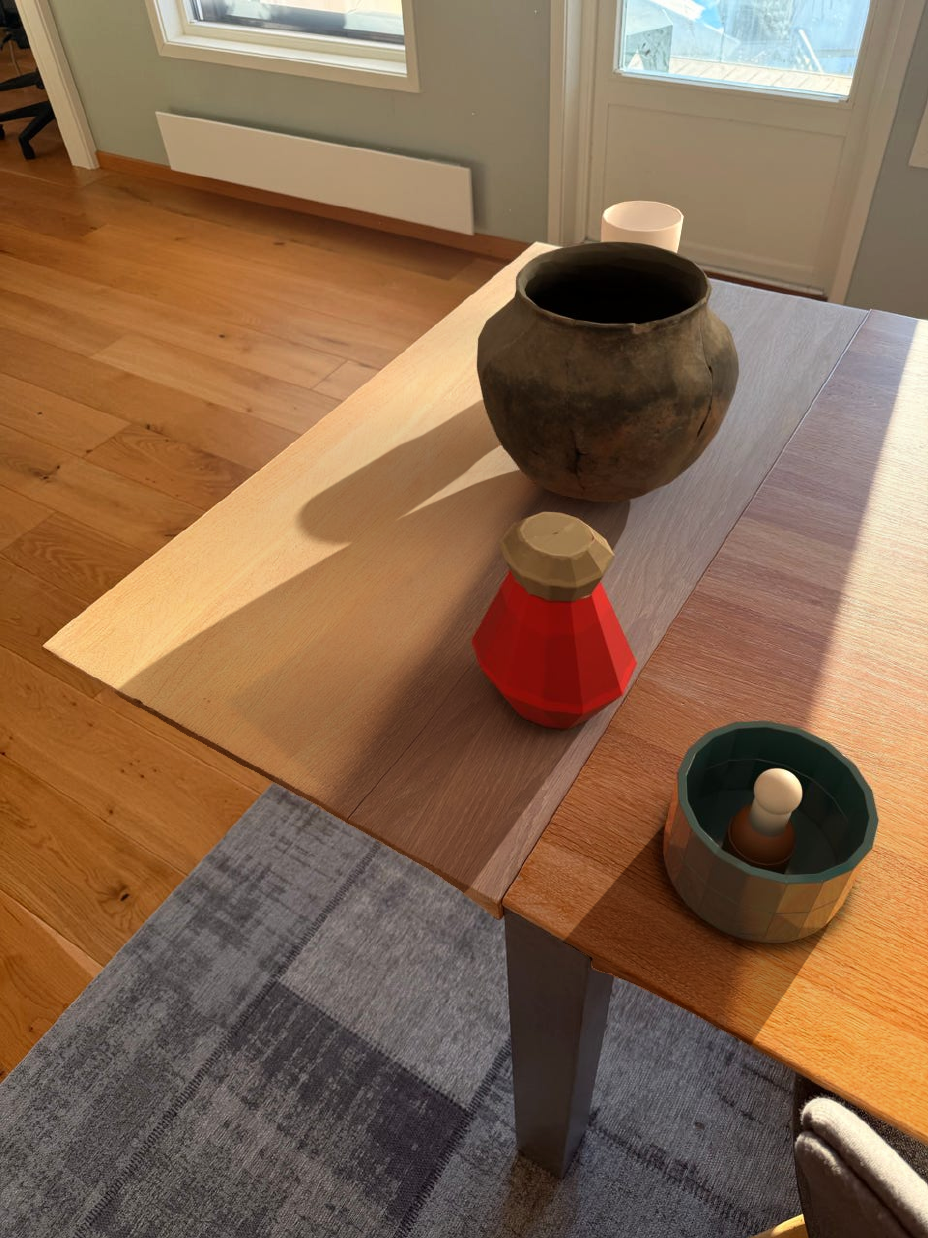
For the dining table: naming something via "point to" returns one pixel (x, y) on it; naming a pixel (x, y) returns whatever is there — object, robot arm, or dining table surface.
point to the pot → (607, 369)
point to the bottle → (554, 624)
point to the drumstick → (766, 823)
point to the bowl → (823, 821)
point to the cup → (643, 224)
